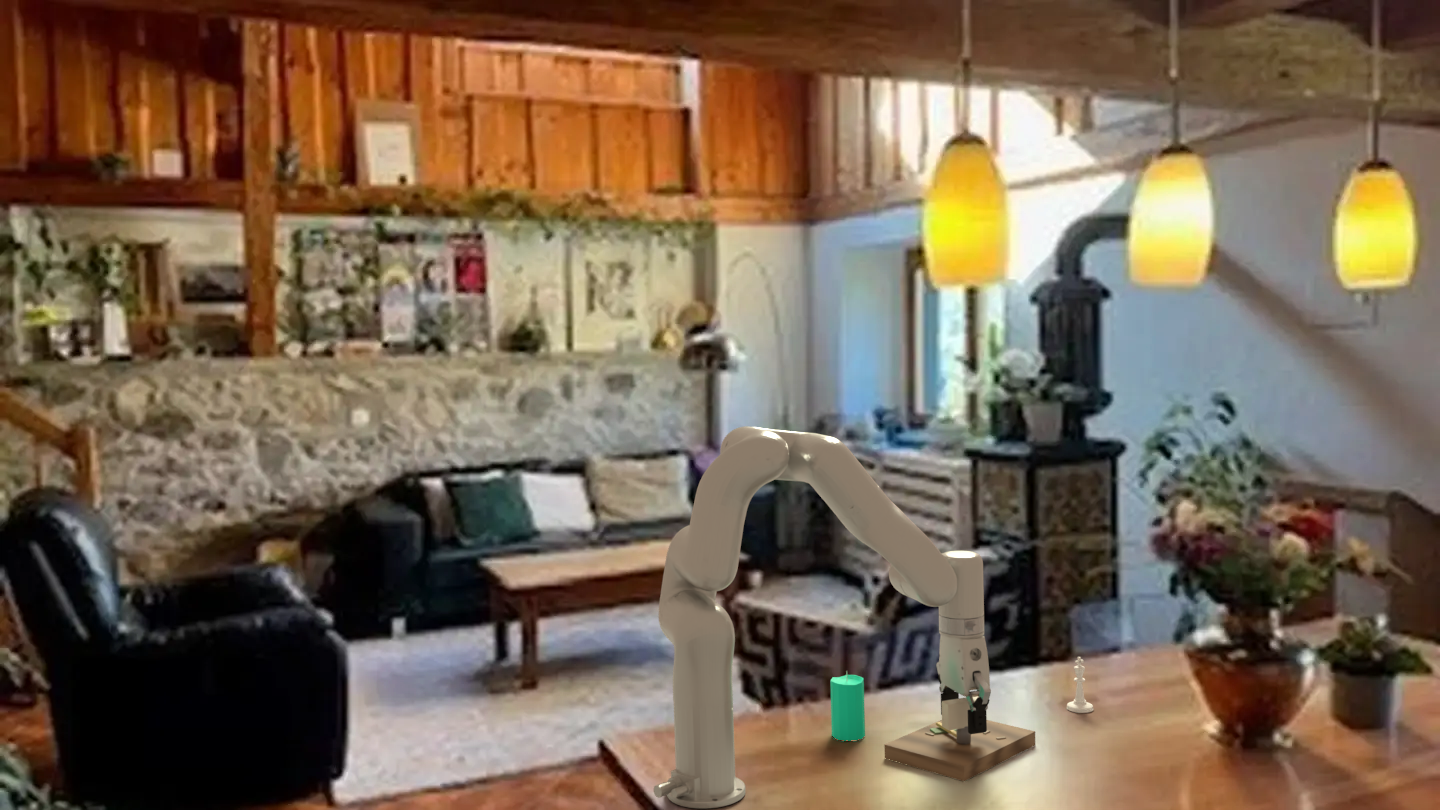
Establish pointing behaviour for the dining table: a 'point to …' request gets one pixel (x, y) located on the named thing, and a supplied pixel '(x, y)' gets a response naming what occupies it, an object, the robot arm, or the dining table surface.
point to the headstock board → (959, 749)
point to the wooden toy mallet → (956, 719)
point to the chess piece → (1079, 692)
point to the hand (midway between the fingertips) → (963, 723)
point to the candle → (847, 707)
